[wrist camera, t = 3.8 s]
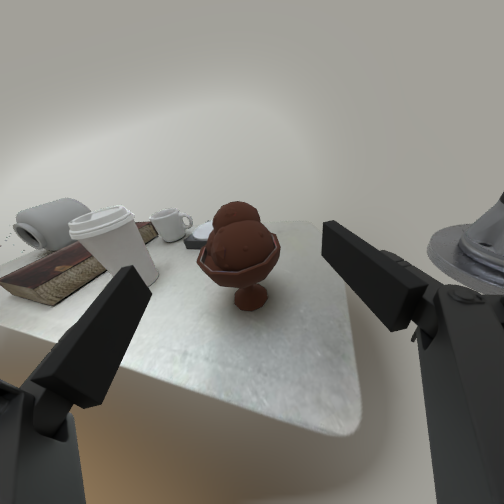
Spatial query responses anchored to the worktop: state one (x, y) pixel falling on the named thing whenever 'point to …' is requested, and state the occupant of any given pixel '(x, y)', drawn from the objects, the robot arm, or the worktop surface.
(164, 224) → the cup
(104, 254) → the coffee cup
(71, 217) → the jar
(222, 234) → the ice cream bowl
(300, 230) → the worktop surface
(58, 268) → the hardback book
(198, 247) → the scale
